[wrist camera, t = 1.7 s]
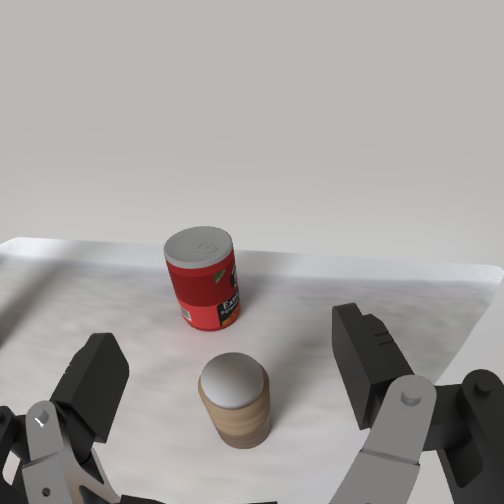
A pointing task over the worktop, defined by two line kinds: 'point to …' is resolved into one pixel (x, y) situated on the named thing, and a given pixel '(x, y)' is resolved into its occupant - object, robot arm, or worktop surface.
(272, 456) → the worktop surface
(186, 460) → the worktop surface
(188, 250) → the canned food
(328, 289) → the worktop surface
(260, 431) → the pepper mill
